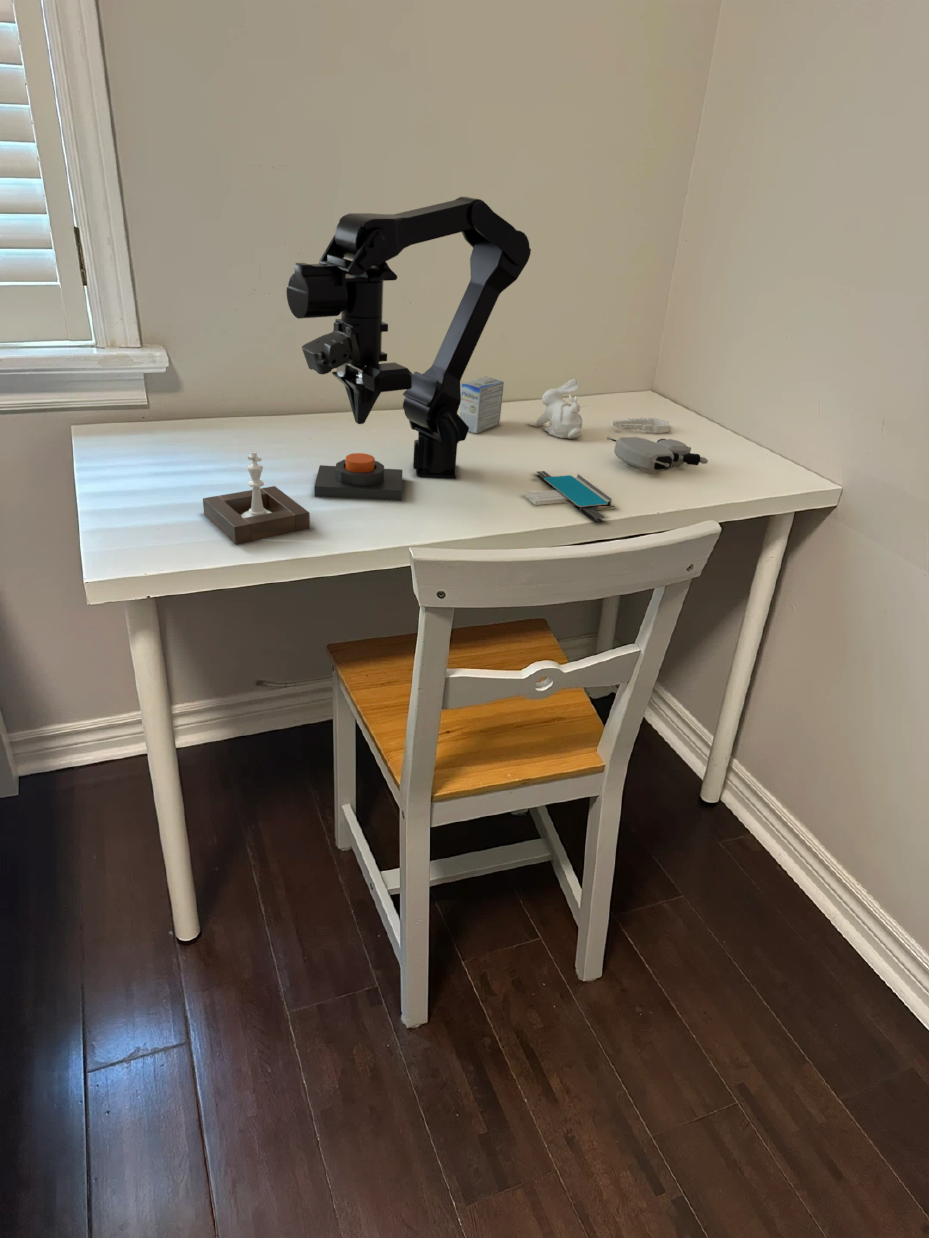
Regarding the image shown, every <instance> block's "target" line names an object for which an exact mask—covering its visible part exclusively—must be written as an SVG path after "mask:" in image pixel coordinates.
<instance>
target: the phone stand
mask: <svg viewBox="0 0 929 1238" xmlns="http://www.w3.org/2000/svg"><path fill="white" fill-rule="evenodd" d="M536 473H537V474H535V476H536V477H537V478H538V479H539V481H541V482H542V483H543V484H545V485H546V486H548V487H549V490H537V491H527V492H525V495H524V497H525V498H526V499H527V500H528V501H530V502H531V503H532V504H534V505H535V506H540V505H550V504H552V505H553V504H561V503H562V504H563V503H568V504H569V505H570V506H572V507H574V508H575V509H576V510H577V511H578V512H580V513H581V514H582V515H584V516H585V517H586V518H587V519H589V520H591V521H592V522H593V523H595V524H597V523H598V524H599V523H604V522H605V521H604V520H602V519H606V517H605V516H604V515H603V514H602V513H600V512H599V511H607V510H608V511H609V510H616V506H615V505H612V502H613V498H612V497H610V496H609V495H607V494H606V493H605V492H603V491H602V490H601V489H600V488H598V487H596V486H595V485H593V483H591V482H589V481H588V480H587V479H586V478H584V477H583V476H581V475H580V474H578V473H577V475H576V476H575V477H574V476H573V475H570V474H569V475H557V476H554V475H553V476H551V474H549V473H547V471H545V470H541V471H540V470H539V471H536ZM533 480H536V479H533Z"/></svg>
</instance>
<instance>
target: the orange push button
mask: <svg viewBox="0 0 929 1238" xmlns="http://www.w3.org/2000/svg"><path fill="white" fill-rule="evenodd" d="M345 459H346V469H347V470H348V471H352V472H363V473H364V472H371V471H373V470H374V469H375V461H376V458H375V457H374V456H373V455H372V454H369V453H363V452H355V453H350V454H347V455H346V456H345Z"/></svg>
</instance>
